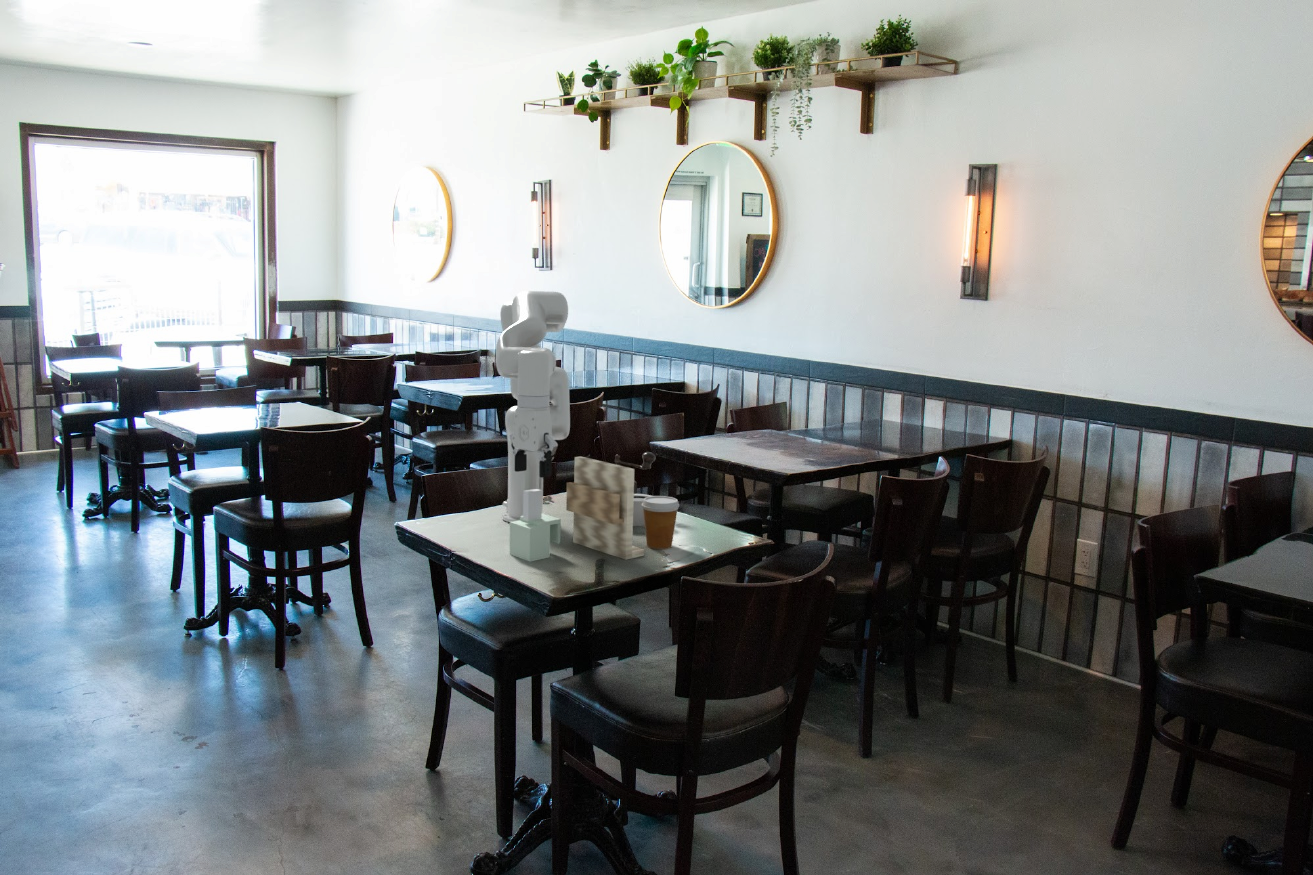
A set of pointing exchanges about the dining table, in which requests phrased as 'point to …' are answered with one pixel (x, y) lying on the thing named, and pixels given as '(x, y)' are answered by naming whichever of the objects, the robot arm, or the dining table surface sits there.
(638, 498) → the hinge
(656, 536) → the disposable coffee cup
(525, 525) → the mint green box
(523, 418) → the robot arm
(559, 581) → the dining table surface
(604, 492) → the wall board
